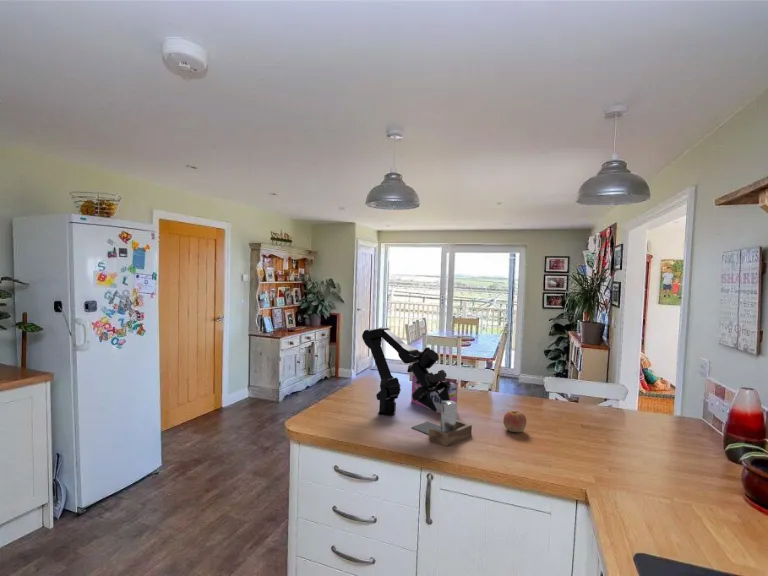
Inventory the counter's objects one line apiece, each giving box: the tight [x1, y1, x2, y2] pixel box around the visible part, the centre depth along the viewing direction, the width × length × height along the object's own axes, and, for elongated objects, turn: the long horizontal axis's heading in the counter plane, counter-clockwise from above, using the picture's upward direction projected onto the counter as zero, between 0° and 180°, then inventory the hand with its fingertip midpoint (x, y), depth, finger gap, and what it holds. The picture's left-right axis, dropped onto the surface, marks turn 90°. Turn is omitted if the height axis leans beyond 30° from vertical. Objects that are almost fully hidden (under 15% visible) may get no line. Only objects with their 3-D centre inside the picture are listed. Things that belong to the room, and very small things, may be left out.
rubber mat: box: [410, 421, 441, 436], centre depth 161 cm, size 10×10×1 cm
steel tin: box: [440, 400, 458, 433], centre depth 154 cm, size 6×6×13 cm
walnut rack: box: [428, 419, 473, 447], centre depth 154 cm, size 8×16×4 cm, turn 135°
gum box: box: [410, 374, 459, 414], centre depth 189 cm, size 24×8×14 cm, turn 40°
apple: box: [502, 410, 527, 433], centre depth 162 cm, size 9×9×8 cm
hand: (443, 408), depth 156 cm, fingers open, 9 cm apart
